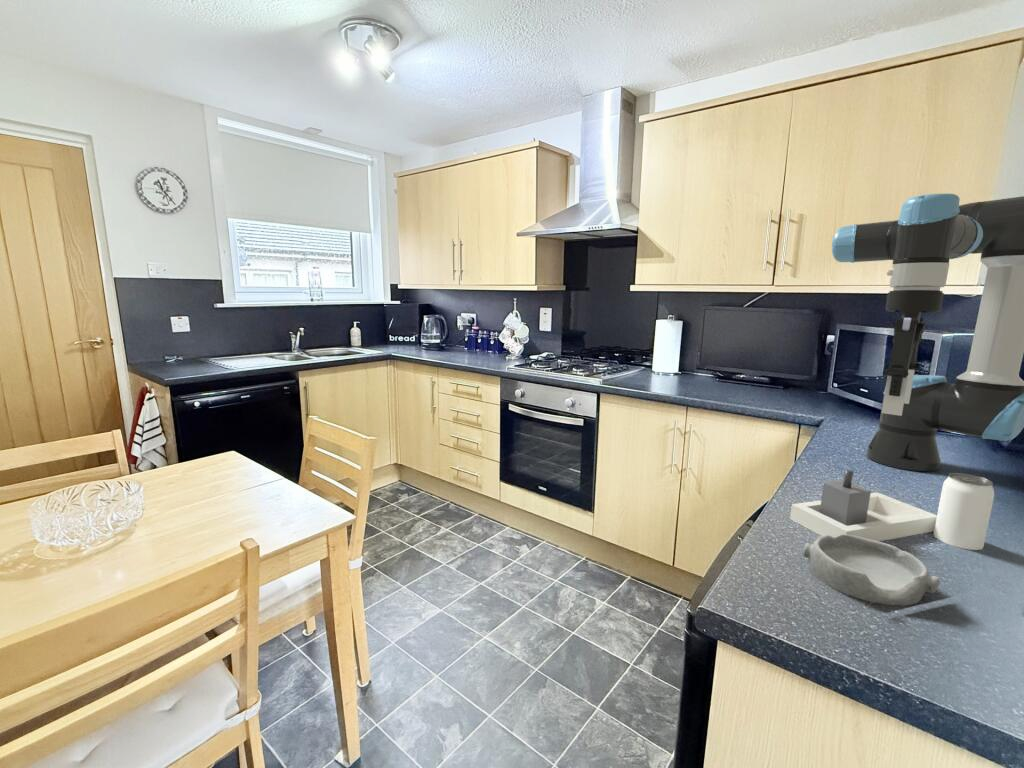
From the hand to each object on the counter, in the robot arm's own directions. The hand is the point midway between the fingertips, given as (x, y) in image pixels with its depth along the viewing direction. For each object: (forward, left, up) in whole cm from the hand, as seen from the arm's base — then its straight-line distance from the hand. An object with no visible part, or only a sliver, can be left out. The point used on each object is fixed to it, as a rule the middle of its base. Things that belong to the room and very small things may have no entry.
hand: (895, 408), depth 87 cm
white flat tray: (+5, 0, -23) cm, 23 cm away
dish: (+22, +13, -23) cm, 34 cm away
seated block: (+10, 0, -22) cm, 24 cm away
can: (-6, +9, -23) cm, 25 cm away
